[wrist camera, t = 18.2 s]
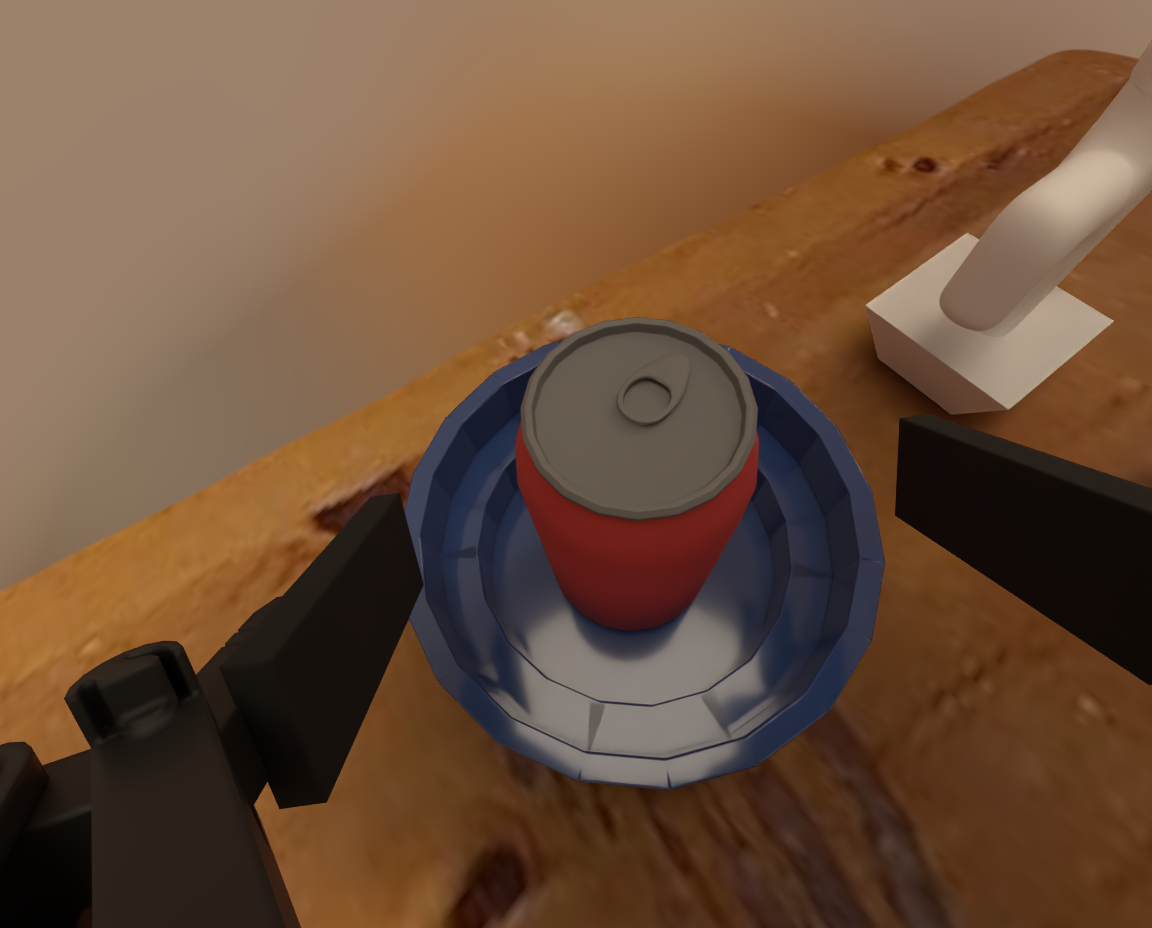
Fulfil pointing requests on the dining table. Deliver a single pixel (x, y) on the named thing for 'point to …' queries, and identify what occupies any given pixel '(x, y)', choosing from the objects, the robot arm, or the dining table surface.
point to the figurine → (1019, 273)
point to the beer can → (636, 465)
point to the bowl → (659, 655)
